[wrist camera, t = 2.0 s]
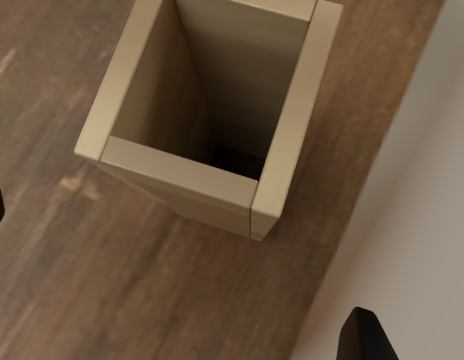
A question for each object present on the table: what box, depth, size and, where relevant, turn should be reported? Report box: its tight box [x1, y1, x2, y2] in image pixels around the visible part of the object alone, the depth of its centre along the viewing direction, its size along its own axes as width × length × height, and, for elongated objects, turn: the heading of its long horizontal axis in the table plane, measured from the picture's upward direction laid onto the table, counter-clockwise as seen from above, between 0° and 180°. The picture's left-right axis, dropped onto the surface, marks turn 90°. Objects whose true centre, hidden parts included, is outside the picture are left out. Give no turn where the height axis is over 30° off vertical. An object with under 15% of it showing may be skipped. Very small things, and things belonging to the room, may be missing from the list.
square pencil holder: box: [74, 0, 344, 242], centre depth 14 cm, size 5×4×12 cm
